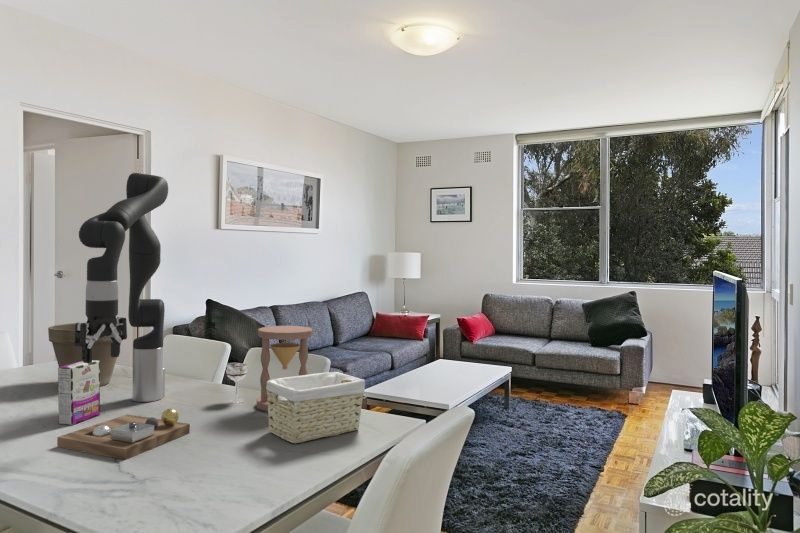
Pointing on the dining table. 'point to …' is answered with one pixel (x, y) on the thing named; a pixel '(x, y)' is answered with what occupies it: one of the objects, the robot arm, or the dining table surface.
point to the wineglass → (236, 376)
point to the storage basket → (314, 405)
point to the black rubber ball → (152, 421)
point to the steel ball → (101, 431)
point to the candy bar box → (78, 392)
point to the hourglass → (281, 353)
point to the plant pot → (71, 354)
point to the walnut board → (121, 449)
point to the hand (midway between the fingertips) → (101, 359)
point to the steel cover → (132, 432)
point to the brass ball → (170, 417)
